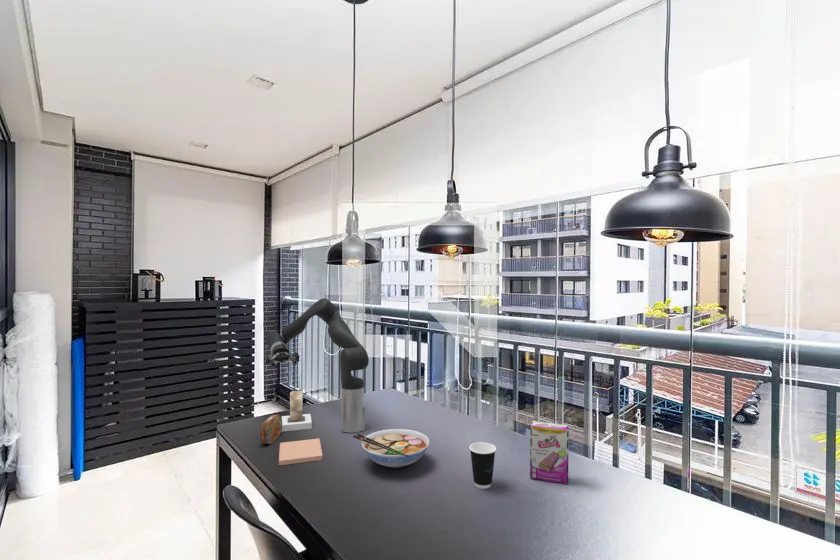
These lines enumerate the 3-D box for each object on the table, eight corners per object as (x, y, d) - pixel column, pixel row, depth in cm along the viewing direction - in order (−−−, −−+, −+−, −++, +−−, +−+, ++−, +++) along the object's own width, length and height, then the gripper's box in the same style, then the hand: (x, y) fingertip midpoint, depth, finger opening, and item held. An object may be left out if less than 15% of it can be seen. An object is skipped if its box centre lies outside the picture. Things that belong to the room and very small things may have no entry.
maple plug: (302, 422, 174) (302, 390, 175) (302, 426, 170) (302, 393, 170) (290, 424, 173) (290, 391, 173) (290, 428, 168) (290, 394, 168)
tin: (267, 447, 148) (267, 424, 148) (258, 447, 148) (258, 424, 148) (283, 432, 163) (283, 411, 163) (275, 432, 163) (275, 411, 164)
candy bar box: (529, 479, 123) (529, 425, 124) (531, 472, 128) (530, 420, 128) (569, 485, 120) (568, 429, 120) (568, 477, 124) (568, 424, 125)
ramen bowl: (446, 463, 135) (446, 438, 135) (396, 488, 118) (396, 460, 118) (394, 443, 152) (394, 421, 152) (344, 463, 135) (344, 438, 135)
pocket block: (310, 419, 179) (310, 413, 179) (311, 428, 167) (311, 422, 167) (281, 422, 175) (281, 416, 175) (280, 431, 164) (280, 425, 164)
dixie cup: (495, 492, 116) (495, 454, 116) (467, 489, 117) (467, 451, 118) (496, 479, 123) (496, 443, 124) (470, 476, 125) (470, 441, 125)
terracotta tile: (319, 442, 153) (319, 438, 153) (322, 459, 138) (322, 455, 138) (280, 446, 148) (280, 442, 148) (278, 465, 133) (278, 461, 133)
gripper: (263, 344, 187) (267, 356, 173) (295, 343, 193) (301, 354, 179) (263, 360, 188) (266, 373, 174) (295, 358, 195) (300, 370, 180)
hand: (284, 363), depth 177 cm, fingers open, 8 cm apart
